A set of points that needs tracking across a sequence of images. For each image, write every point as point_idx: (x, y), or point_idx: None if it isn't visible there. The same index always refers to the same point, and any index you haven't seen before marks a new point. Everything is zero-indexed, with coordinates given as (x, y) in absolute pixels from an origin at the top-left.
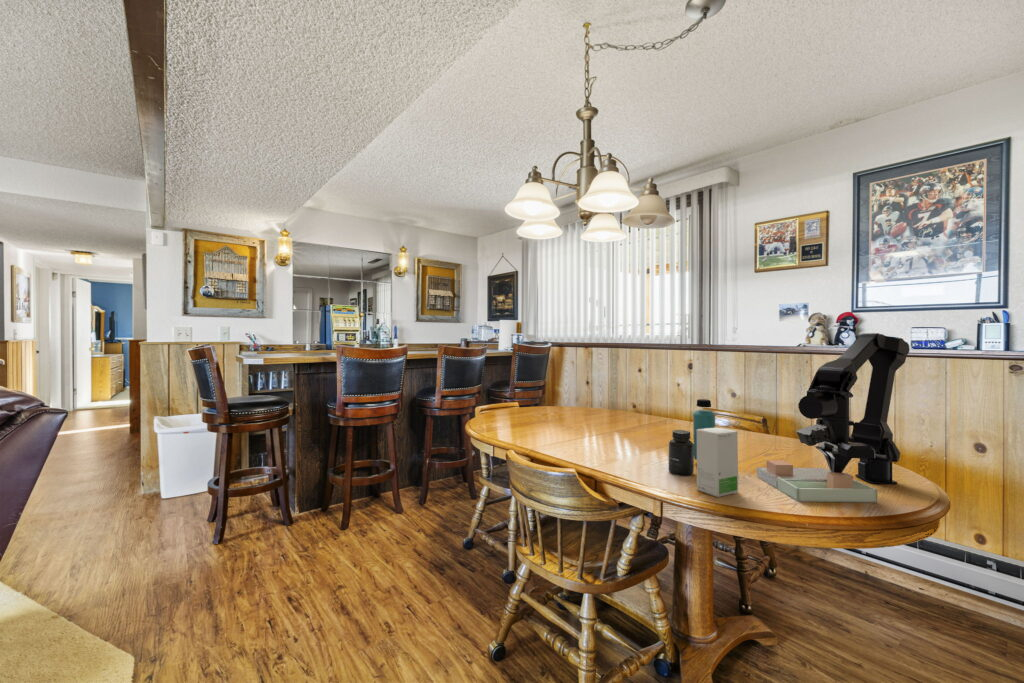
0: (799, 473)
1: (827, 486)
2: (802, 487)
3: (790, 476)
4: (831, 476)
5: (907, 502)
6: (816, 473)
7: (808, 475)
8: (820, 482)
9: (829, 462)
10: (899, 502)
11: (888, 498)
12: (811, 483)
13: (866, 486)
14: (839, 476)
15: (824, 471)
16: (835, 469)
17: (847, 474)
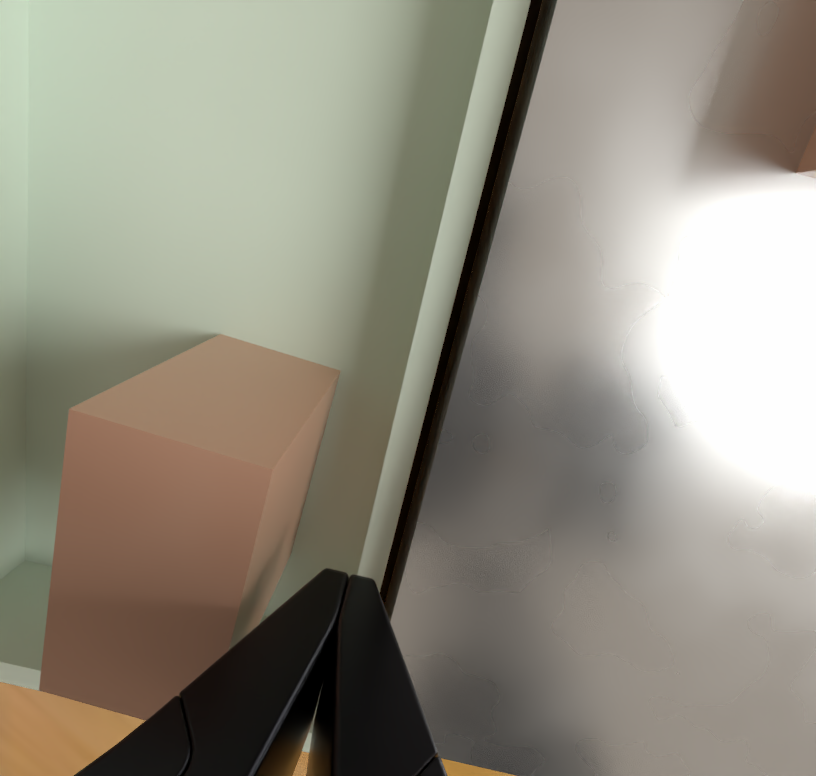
0: (792, 344)
1: (322, 383)
2: (468, 99)
3: (720, 3)
4: (141, 411)
5: (34, 769)
6: (688, 590)
7: (650, 396)
8: (407, 370)
9: (342, 762)
10: (32, 721)
11: (123, 729)
12: (437, 236)
13: (37, 663)
14: (69, 503)
15: (718, 749)
16: (234, 654)
17: (119, 682)
